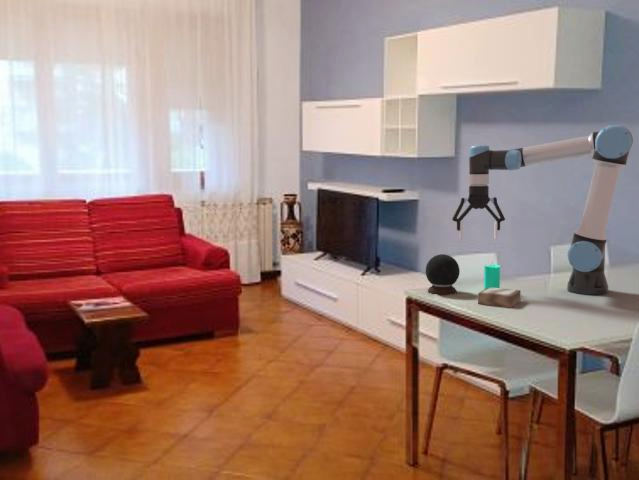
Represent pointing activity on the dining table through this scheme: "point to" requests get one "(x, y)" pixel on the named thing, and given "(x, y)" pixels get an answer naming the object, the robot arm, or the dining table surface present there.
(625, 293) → the dining table surface
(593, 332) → the dining table surface
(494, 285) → the candle
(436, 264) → the smart speaker
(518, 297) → the plinth
